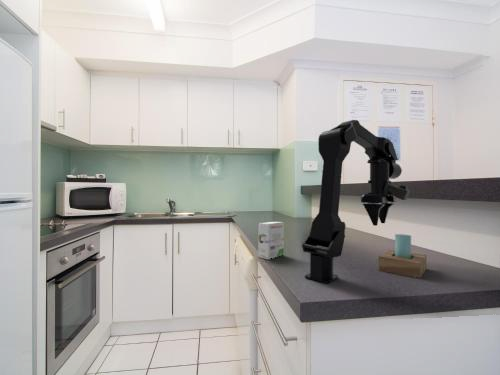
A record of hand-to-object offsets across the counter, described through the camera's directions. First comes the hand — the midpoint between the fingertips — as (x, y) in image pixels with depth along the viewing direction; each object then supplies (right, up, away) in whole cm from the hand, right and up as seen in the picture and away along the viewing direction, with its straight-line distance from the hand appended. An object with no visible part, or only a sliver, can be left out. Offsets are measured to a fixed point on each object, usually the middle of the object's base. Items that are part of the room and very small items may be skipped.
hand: (379, 224), depth 84 cm
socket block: (+2, -12, -10) cm, 16 cm away
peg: (+2, -12, -10) cm, 16 cm away
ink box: (-36, -12, +3) cm, 38 cm away
